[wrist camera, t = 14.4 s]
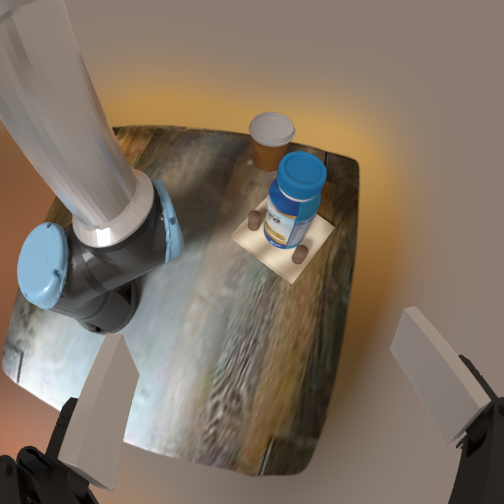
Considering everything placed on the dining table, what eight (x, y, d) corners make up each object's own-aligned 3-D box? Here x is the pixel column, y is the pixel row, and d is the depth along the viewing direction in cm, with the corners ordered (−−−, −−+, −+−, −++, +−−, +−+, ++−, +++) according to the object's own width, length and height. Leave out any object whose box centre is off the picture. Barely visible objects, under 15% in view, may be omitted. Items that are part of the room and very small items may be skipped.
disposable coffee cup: (292, 175, 61) (301, 139, 49) (251, 178, 60) (252, 142, 49) (283, 145, 64) (290, 110, 53) (245, 148, 63) (246, 111, 52)
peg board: (231, 238, 54) (230, 225, 49) (276, 190, 59) (279, 175, 54) (291, 284, 51) (297, 276, 46) (332, 230, 56) (340, 218, 51)
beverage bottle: (305, 252, 52) (337, 196, 34) (261, 250, 52) (272, 191, 33) (303, 214, 55) (329, 149, 37) (262, 211, 55) (272, 143, 36)
